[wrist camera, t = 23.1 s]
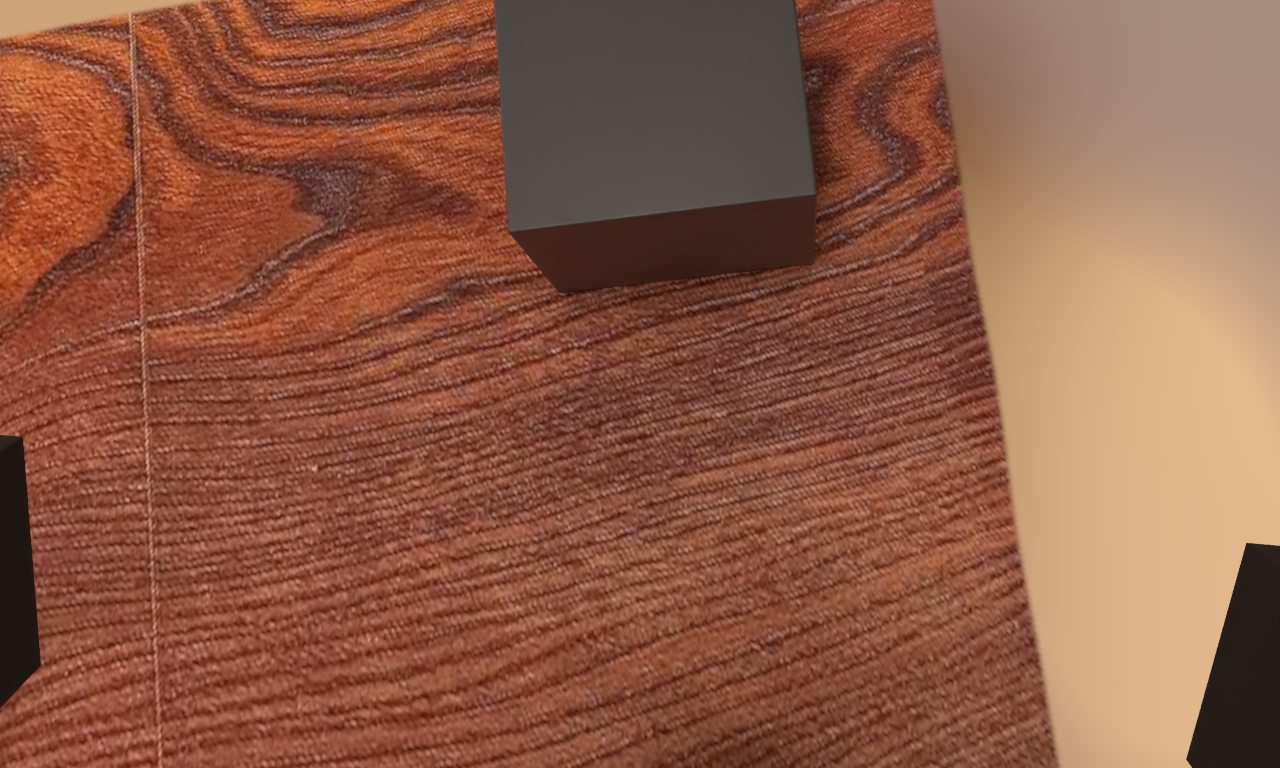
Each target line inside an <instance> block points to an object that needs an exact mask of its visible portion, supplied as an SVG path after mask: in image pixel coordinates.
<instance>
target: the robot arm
mask: <svg viewBox="0 0 1280 768" xmlns="http://www.w3.org/2000/svg"><path fill="white" fill-rule="evenodd" d="M40 665H41V661H40V648H39V636H38V623H37V610H36V598H35V585H34V573H33V560H32V547H31V535H30V522H29V509H28V497H27V484H26V472H25V459H24V446H23V437H17V436H6V435H0V708H1V707H2V706H3V705H4V704H5V703H6V701H7V700H8V699H9V698H10V697H11V696H12V695H13V694H14V693H15V692H16V691H17V690H18V689H19V688H20V687H21V685H22V684H23V683H24V682H25V681H26V680H27V679H28V678H29V677H30V676H31V675H32V674H33V673H34V672H35V671H36V670H37V668H38V667H39V666H40ZM1186 760H1187V761H1188V762H1189V764H1190V765H1191V767H1192V768H1280V546H1275V545H1264V544H1252V543H1246V547H1245V551H1244V554H1243V557H1242V561H1241V565H1240V568H1239V572H1238V575H1237V580H1236V583H1235V586H1234V590H1233V594H1232V597H1231V601H1230V604H1229V608H1228V611H1227V615H1226V619H1225V622H1224V626H1223V629H1222V633H1221V637H1220V640H1219V644H1218V647H1217V651H1216V655H1215V658H1214V662H1213V665H1212V669H1211V673H1210V676H1209V680H1208V683H1207V687H1206V691H1205V694H1204V698H1203V702H1202V705H1201V709H1200V712H1199V716H1198V719H1197V723H1196V727H1195V730H1194V734H1193V738H1192V742H1191V745H1190V748H1189V752H1188V755H1187V759H1186Z"/></svg>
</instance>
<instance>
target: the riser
mask: <svg viewBox="0 0 1280 768" xmlns="http://www.w3.org/2000/svg"><path fill="white" fill-rule="evenodd" d="M494 8H495V24H496V39H497V55H498V71H499V87H500V103H501V119H502V135H503V150H504V166H505V182H506V198H507V214H508V230H509V233H510V234H511V235H512V237H513V238H514V239H515V240H516V241H517V243H518V244H519V245H520V246H521V247H522V249H523V250H524V251H525V252H526V253H527V255H528V256H529V257H530V258H531V259H532V261H533V262H534V263H535V264H536V265H537V267H538V268H539V269H540V270H541V271H542V273H543V274H544V275H545V276H546V277H547V279H548V280H549V281H550V282H551V283H552V285H553V286H554V287H555V288H556V289H557V291H558V292H560V293H563V292H572V291H580V290H589V289H598V288H606V287H615V286H624V285H632V284H641V283H649V282H658V281H667V280H675V279H684V278H693V277H701V276H710V275H718V274H727V273H736V272H744V271H753V270H762V269H770V268H779V267H788V266H796V265H805V264H812V263H814V257H815V235H816V212H817V186H816V177H815V169H814V160H813V151H812V142H811V134H810V125H809V116H808V108H807V99H806V90H805V81H804V73H803V64H802V55H801V47H800V38H799V29H798V20H797V12H796V3H795V0H494Z"/></svg>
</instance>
